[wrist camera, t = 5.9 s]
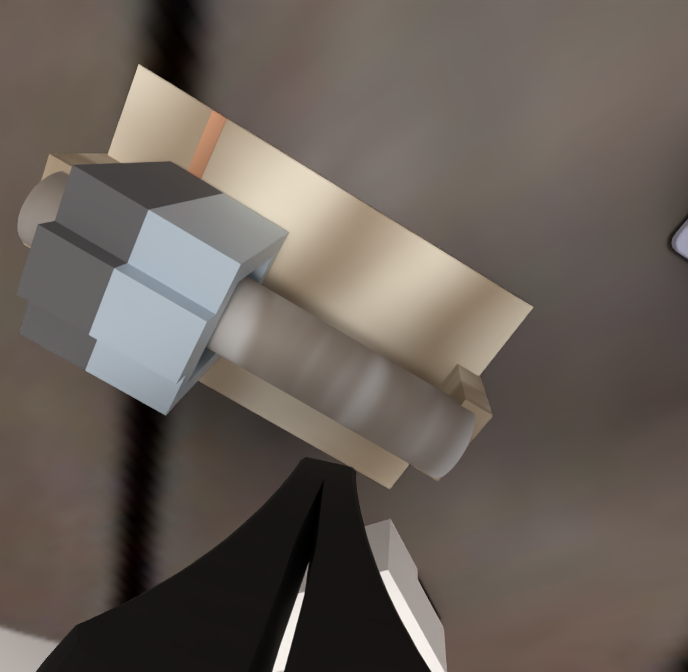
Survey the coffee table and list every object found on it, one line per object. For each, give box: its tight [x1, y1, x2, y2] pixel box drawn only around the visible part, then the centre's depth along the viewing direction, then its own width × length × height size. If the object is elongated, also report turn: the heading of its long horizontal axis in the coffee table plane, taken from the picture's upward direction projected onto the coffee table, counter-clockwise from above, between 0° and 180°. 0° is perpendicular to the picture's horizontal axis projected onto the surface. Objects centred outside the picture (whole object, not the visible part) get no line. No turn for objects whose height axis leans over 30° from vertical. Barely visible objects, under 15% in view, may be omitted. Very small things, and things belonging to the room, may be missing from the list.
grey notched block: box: [17, 161, 223, 370], centre depth 17 cm, size 2×6×7 cm, turn 150°
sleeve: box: [85, 193, 289, 415], centre depth 17 cm, size 3×6×7 cm, turn 150°
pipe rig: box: [18, 65, 533, 489], centre depth 19 cm, size 18×11×5 cm, turn 60°
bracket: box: [273, 519, 447, 672], centre depth 24 cm, size 13×7×8 cm, turn 116°
